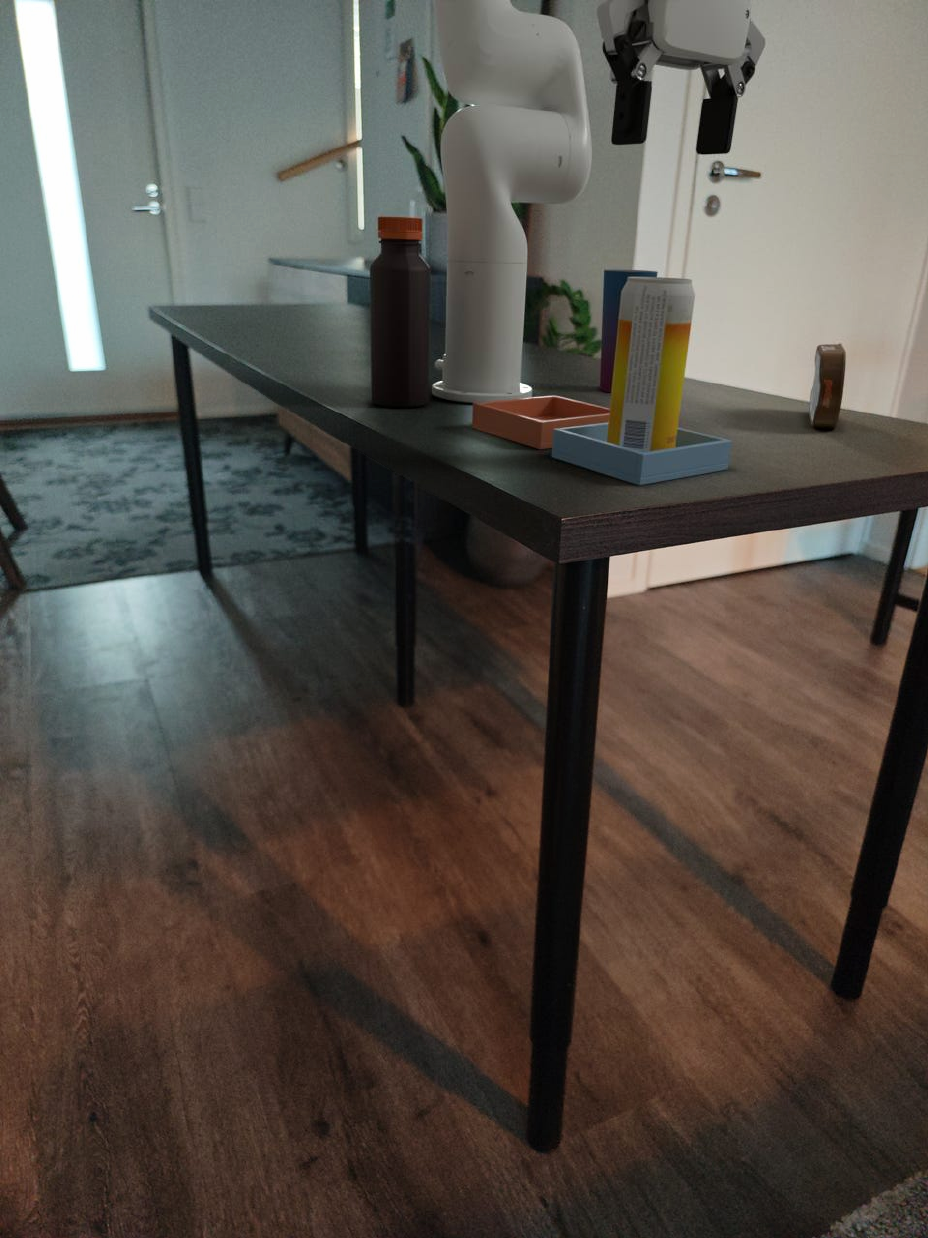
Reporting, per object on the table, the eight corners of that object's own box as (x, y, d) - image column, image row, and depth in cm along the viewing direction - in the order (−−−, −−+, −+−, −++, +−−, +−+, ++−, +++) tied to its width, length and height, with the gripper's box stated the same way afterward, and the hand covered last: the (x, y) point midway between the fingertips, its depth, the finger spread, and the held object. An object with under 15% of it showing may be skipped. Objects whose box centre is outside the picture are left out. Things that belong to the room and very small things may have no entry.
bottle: (373, 397, 104) (370, 216, 96) (428, 399, 104) (431, 218, 96) (369, 408, 98) (366, 215, 90) (429, 409, 98) (431, 217, 90)
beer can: (674, 452, 79) (698, 278, 73) (671, 467, 74) (696, 281, 68) (609, 446, 81) (626, 275, 74) (601, 460, 75) (619, 277, 69)
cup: (641, 387, 118) (654, 270, 112) (646, 395, 112) (660, 272, 106) (592, 384, 119) (602, 268, 112) (594, 392, 112) (605, 270, 106)
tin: (837, 435, 92) (854, 354, 88) (806, 432, 93) (821, 351, 89) (830, 412, 105) (844, 340, 101) (803, 409, 106) (816, 338, 102)
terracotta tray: (471, 427, 89) (472, 402, 88) (552, 418, 95) (554, 395, 94) (539, 449, 81) (541, 422, 80) (624, 438, 87) (627, 412, 86)
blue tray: (551, 457, 79) (553, 428, 77) (637, 444, 85) (640, 418, 83) (639, 485, 70) (643, 454, 69) (727, 469, 76) (732, 440, 75)
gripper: (741, -85, 68) (707, 158, 75) (579, -142, 59) (558, 142, 66) (824, -110, 62) (779, 155, 70) (659, -176, 53) (627, 137, 61)
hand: (671, 148), depth 68 cm, fingers open, 9 cm apart
